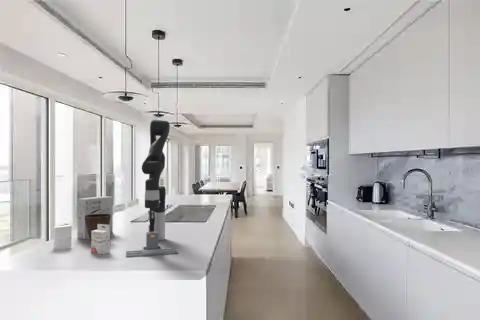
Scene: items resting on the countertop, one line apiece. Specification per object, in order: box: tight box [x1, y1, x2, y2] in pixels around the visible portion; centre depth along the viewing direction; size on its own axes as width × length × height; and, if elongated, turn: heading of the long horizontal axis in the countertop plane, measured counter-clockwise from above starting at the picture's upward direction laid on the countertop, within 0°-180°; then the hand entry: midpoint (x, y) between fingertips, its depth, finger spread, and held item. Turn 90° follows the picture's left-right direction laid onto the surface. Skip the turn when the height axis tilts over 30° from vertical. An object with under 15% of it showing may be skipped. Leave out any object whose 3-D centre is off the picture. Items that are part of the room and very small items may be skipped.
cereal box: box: [76, 195, 114, 240], centre depth 232 cm, size 22×8×25 cm, turn 150°
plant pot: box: [84, 214, 111, 241], centre depth 213 cm, size 15×15×16 cm
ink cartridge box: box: [90, 224, 111, 255], centre depth 187 cm, size 9×5×15 cm, turn 71°
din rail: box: [125, 245, 178, 258], centre depth 186 cm, size 26×9×3 cm, turn 107°
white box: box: [53, 224, 73, 250], centre depth 198 cm, size 9×9×12 cm
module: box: [145, 231, 159, 250], centre depth 186 cm, size 6×5×10 cm
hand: (151, 231), depth 186 cm, fingers closed
